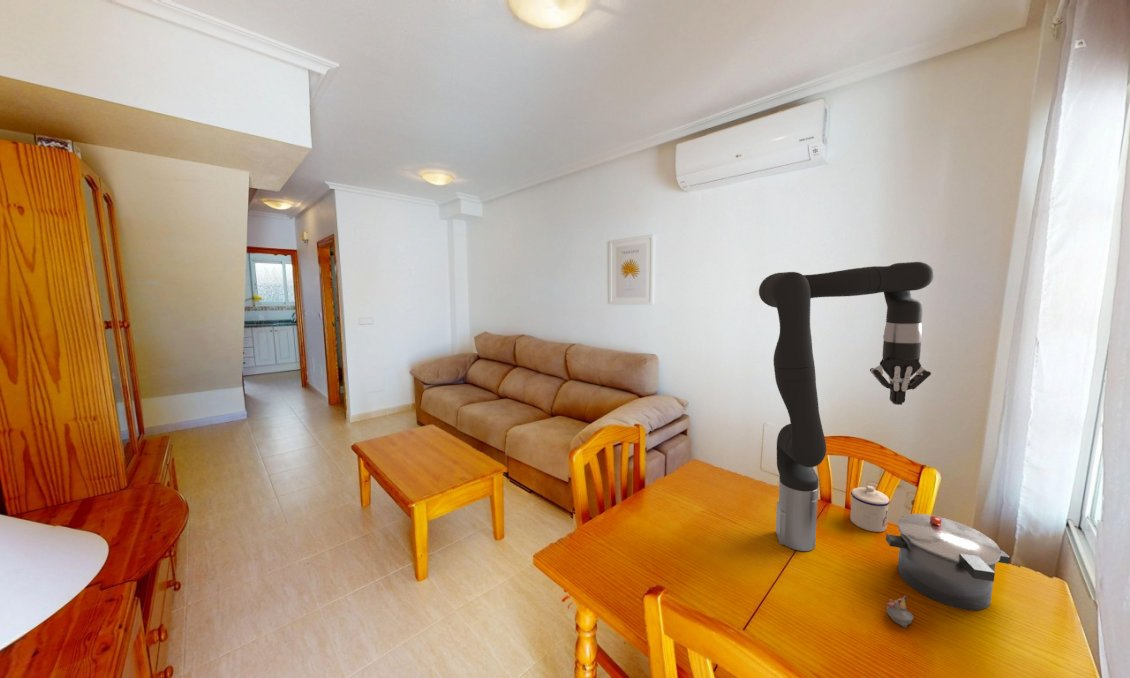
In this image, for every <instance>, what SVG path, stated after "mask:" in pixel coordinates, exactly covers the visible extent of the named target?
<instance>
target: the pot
mask: <svg viewBox="0 0 1130 678" xmlns="http://www.w3.org/2000/svg"><path fill="white" fill-rule="evenodd" d="M885 541H886V542H887V544H888V546H890V547H893V548H899V550H898V559H897V561H898V562H897V571H898V574H899V577H900V578H902V580H903V582H904V583H905V584H907V585H908V586H909V587H911V588H912V589H913V590H915V591H916V592H917V593H919V594H921V595H923V596H925V597H926V598H929V599H930V600H933V601H935V602H938V603H939V604H942V605H945V606H948V607H952V608H954V609H960V610H964V611H966V610H967V611H983V610H986V609H987V608H989V607H991V602H992V595H993V587H994V582H993V581H987V580H981V579H975V578H973V577H972V576H971V575H970V574H969V573H968V572H967V571H966V570H965V568H964V567H963V566H962V565H961V564H960V563H959V562H954V561H951V560H948V559H945V558H942V557H939V556H936V555H934V554H931V553H929V552H927V551H925V550H923V549H921V548H919V547H917V546H916V545H914V544H913V543H911V542H910V541H908V540H907V539H906V538H905V537H904V536H903V535H902V534H901V533H900V535H895V534H888V533H886V535H885ZM1000 550H1001V549H1000ZM997 563H1000V564H1001V563H1002V564H1006V565H1007V564H1009V565H1010V564H1011V556H1009V555H1008V554H1007V553H1006V552H1005V551H1004V550H1001V556H1000V560H999V561H998V562H997ZM988 566H989V567H990V568H991V569H992V570H993V571H994V572H995V570H996V564H993V565H988Z"/></svg>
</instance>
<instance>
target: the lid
mask: <svg viewBox="0 0 1130 678" xmlns="http://www.w3.org/2000/svg"><path fill="white" fill-rule="evenodd" d="M897 530H898V531H899V533H900V534H902V535H903V536H904V537H905V538H906V539H907V540H908V541H910V542H911V543H913V544H914V545H916V546H917V547H919V548H921V549H923V550H925V551H927V552H929V553H931V554H934V555H936V556H939V557H942V558H945V559H948V560H951V561H954V562H959V563H960V564H961V565H962V566H963V567H964V568H965V570H966V571H967V572H968V573H969V574H970V575H971V576H972V577H973V578H975V579H981V580H987V581H993V583H994V582H995V574H996V572H995V571H993V570H992V569H991V568H990V567H989V566H988V565H993V564H995V565H996V564H997V563H999V562H998V561H999V560H1000V556H1001V548H1000V547H999V545H998V544H997V543H996V541H994V540H993V539H991V538H990V537H989V536H988V535H986V534H984V533H982V532H981V531H979V530H977V529H975V528H973V527H971V526H969V525H967V524H964V523H961V522H958V521H955V520H952V519H949V518H945V517H941V516H938V515H934V514H933V515H932V514H925V513H924V514H923V513H910V514H909V513H908V514H906V515H902V516H901V517H899V519H898V522H897Z"/></svg>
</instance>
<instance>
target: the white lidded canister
mask: <svg viewBox="0 0 1130 678" xmlns="http://www.w3.org/2000/svg"><path fill="white" fill-rule="evenodd" d="M850 496H851V500H850V517H849V518H850V521H851V522H852V523H853V524H854V526H857V527H859V528H860V529H863V530H864V531H865V530H866V531H868V532H869V531H870V532H874V533H875V532H876V533H877V532H878V533H880V532H885V531H886V530H887V527H888V517H889V516H888V514H889V504H890V503H891V501H890V499H889V497H888V496H887V494H884V493H883V492H881V491H879V490H876V489H875V487H874V486H872V485H867V486H865V487H862V486H861V487H854V488H852V490H851V492H850Z"/></svg>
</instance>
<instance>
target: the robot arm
mask: <svg viewBox="0 0 1130 678" xmlns="http://www.w3.org/2000/svg"><path fill="white" fill-rule="evenodd" d="M934 279H935V271H934V269H933V267H932V266H931V265H930V264H928V263H927V262H923V261H910V262H909V261H908V262H907V261H906V262H897V263H893V264H891V265H886V266H883V265H882V266H880V265H879V266H878V265H877V266H875V265H874V266H864V267H857V268H856V267H855V268H850V269H842V270H838V271H837V270H836V271H830V272H822V273H813V274H802V273H800V272H797V271H785V272H777V273H772V274H770V275H768V276H767V277H765V278H764V279H762V280H763V281H761V283H760V285H759V289H758V295H759V298H760V300H761V301H762V302H763V303H764V304H766V305H767V306H768V307H772V308H776V310H777V314H778V321H779V335H778V339H777V342H776V346H775V349H774V353H773V369H774V370H773V371H774V377H775V383H776V385H777V389H778V392H779V394H780V396H781V399H782V401H783V403H784V405H785V409H786V411H787V414H788V416H789V417H788V418H789V421H790V423H788V424H786V425H784V426H783V427H782V428H781V429H780V431H778V434H777V438H776V468H777V471H778V476H779V484H778V501H776V511H775V512H776V516H775V517H776V518H775V519H776V520H775V521H776V522H775V535H776V537H777V540H778V544H779V545H781V546H786V547H788V548H790V549H792V550H795V551H800V552H809V551H812V550H814V549H815V547H816V539H817V537H816V536H817V535H816V534H817V515H818V514H817V513H818V499H819V498H818V497H819V477H818V475H817V473H816V471H815V470H814V468H815V467H817V466H819V465H820V464H821V463H822V462H823V461H824V460H825V457H826V454H827V443H826V438H825V435H824V434H825V433H824V430H823V425H822V420H821V417H820V409H819V407H820V406H819V399H818V390H817V389H818V388H817V378H816V375H817V374H816V366H815V360H814V353H813V342H812V341H813V340H812V338H813V337H812V330H811V299H816V298H831V297H833V298H837V297H839V298H840V297H842V298H843V297H856V296H866V295H874V294H880V293H883V294H884V300H885V304H886V307H887V308H886V317H885V318H886V319H885V327H884V332H883V334H882V335H883V337H882V338H883V341H882V342H883V343H882V359H881V360H880V362H879V365H878V366H875V367H871V368H870V369H869V372H870V373H871V374H872V375H873V376H874V378H875V379H876V380H877V381H878V382H879V383H880V385H881V386H883V387H885V388H887V389H888V390H889V400H890V402H891V404H893V405H899V406H902V405H903V404H904V403H905V401H906V392H907V391H908V390H915V389H917V388H918V387H919V386H920V385H921V384H922V383H923V382H924V381H926V379H928V378H929V377H930V376H931V374H932V373H931V372H932V371H929V370H927V369H925V368H924V367H922V364H921V361H920V358H921V347H922V337H923V333H922V332H923V328H922V327H923V326H922V321H923V320H922V319H923V308H924V307H923V303H922V302H921V301H920V300H918V299H915V298H913V297H912V293H911V292H912V291H918V290H921V289H924V288H927V287H928V286H929V285H930V284H931V283H932V282H933V281H934ZM884 373H885V374H886V375H887V376H888V380H889V381H888V380H887V379H886V377H884Z"/></svg>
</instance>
